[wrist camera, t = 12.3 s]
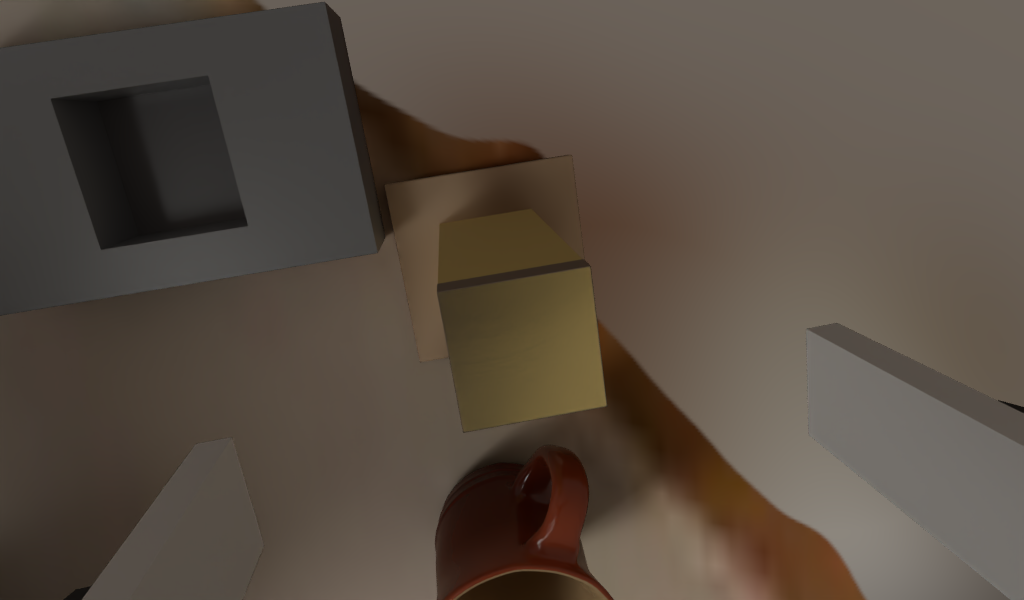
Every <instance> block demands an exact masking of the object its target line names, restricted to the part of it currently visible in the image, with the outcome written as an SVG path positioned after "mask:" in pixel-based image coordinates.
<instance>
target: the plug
mask: <svg viewBox="0 0 1024 600" xmlns="http://www.w3.org/2000/svg"><path fill="white" fill-rule="evenodd" d="M437 296H438V301H439V307H440V312H441V317H442V323H443V328H444V333H445V339H446V344H447V349H448V355H449V360H450V365H451V370H452V376H453V381H454V386H455V392H456V397H457V402H458V408H459V413H460V418H461V424H462V429H463V433H465V432H471V431H476V430H482V429H487V428H492V427H498V426H503V425H509V424H514V423H520V422H525V421H530V420H536V419H541V418H547V417H552V416H558V415H563V414H569V413H574V412H579V411H585V410H590V409H596V408H601V407H607V401H606V392H605V384H604V375H603V367H602V358H601V349H600V341H599V332H598V324H597V315H596V307H595V298H594V290H593V281H592V273H591V266H590V265H589V264H588V263H587V262H586V261H585V260H584V259H582V258H581V257H580V256H579V255H578V254H577V253H576V252H575V251H574V250H573V249H572V248H571V247H570V246H569V245H568V244H567V243H566V242H565V241H564V240H563V239H562V238H560V237H559V236H558V235H557V234H556V233H555V232H554V231H553V230H552V229H551V228H550V227H549V226H548V225H547V224H546V223H545V222H544V221H543V220H542V219H541V218H540V217H539V216H538V215H537V214H536V213H535V212H534V211H533V210H532V209H527V210H521V211H515V212H509V213H502V214H496V215H490V216H484V217H478V218H472V219H466V220H460V221H454V222H448V223H442V224H439V259H438V284H437Z"/></svg>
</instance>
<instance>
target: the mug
mask: <svg viewBox="0 0 1024 600" xmlns="http://www.w3.org/2000/svg"><path fill="white" fill-rule="evenodd" d="M588 501H589V485H588V479H587V476H586V473H585V470H584V467H583V465H582V463H581V461H580V460H579V458H578V457H577V456H576V455H575V454H574V453H573V452H572V451H570V450H569V449H566V448H563V447H559V446H555V445H544V446H542V447H540V448H538V449H537V451H536V452H535V453H534V454H533V455H532V457H531V458H530V460H529V461H528V462H527V463H526V464H525V465H521V464H514V463H496V464H492V465H489V466H486V467H483V468H481V469H478V470H476V471H474V472H473V473H471V474H469V475H468V476H466V477H465V478H463V479H462V480H461V481H460V482H459V483H458V484H457V485H456V486H455V487H454V488H453V490H452V491H451V492H450V494H449V495H448V497H447V499H446V501H445V504H444V506H443V509H442V512H441V514H440V518H439V522H438V526H437V530H436V536H435V549H436V579H437V600H614V599H613V598H612V597H611V595H610V594H609V593H608V592H607V590H606V589H605V588H604V587H603V586H602V585H601V584H600V583H599V582H598V581H597V580H596V579H595V577H594V576H593V575H592V574H591V573H590V571H589V569H588V566H587V562H586V558H585V554H584V550H583V546H582V543H581V539H580V535H581V531H582V528H583V524H584V521H585V517H586V513H587V508H588Z"/></svg>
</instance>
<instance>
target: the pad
mask: <svg viewBox="0 0 1024 600" xmlns="http://www.w3.org/2000/svg"><path fill="white" fill-rule="evenodd" d="M575 184H576V183H575V176H574V167H573V159H572V155H564V156H558V157H552V158H545V159H539V160H533V161H527V162H520V163H514V164H508V165H502V166H495V167H489V168H483V169H477V170H470V171H464V172H458V173H452V174H445V175H439V176H433V177H427V178H420V179H414V180H408V181H402V182H395V183H389V184H385V185H384V186H385V191H386V196H387V201H388V206H389V211H390V216H391V221H392V226H393V230H394V235H395V240H396V245H397V250H398V255H399V260H400V265H401V270H402V275H403V280H404V285H405V290H406V295H407V300H408V305H409V310H410V315H411V319H412V324H413V329H414V334H415V339H416V344H417V349H418V354H419V359H420V362H425V361H430V360H436V359H442V358H447V357H449V355H448V349H447V344H446V339H445V333H444V328H443V323H442V317H441V312H440V307H439V301H438V296H437V284H438V259H439V224H442V223H448V222H454V221H460V220H466V219H472V218H478V217H484V216H490V215H496V214H502V213H509V212H515V211H521V210H527V209H532V210H533V211H534V212H535V213H536V214H537V215H538V216H539V217H540V218H541V219H542V220H543V221H544V222H545V223H546V224H547V225H548V226H549V227H550V228H551V229H552V230H553V231H554V232H555V233H556V234H557V235H558V236H559V237H560V238H562V239H563V240H564V241H565V242H566V243H567V244H568V245H569V246H570V247H571V248H572V249H573V250H574V251H575V252H576V253H577V254H578V255H579V256H580V257H581V258H582V259H584V250H583V243H582V235H581V225H580V217H579V209H578V200H577V193H576V185H575ZM584 260H585V259H584Z"/></svg>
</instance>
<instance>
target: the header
mask: <svg viewBox="0 0 1024 600" xmlns="http://www.w3.org/2000/svg"><path fill="white" fill-rule="evenodd" d="M384 239H385V232H384V227H383V222H382V217H381V212H380V207H379V203H378V198H377V193H376V188H375V183H374V178H373V174H372V169H371V164H370V159H369V154H368V149H367V144H366V140H365V135H364V130H363V125H362V120H361V115H360V111H359V106H358V101H357V96H356V91H355V86H354V81H353V77H352V72H351V67H350V62H349V57H348V53H347V48H346V43H345V38H344V33H343V29H342V24H341V19H340V17H339V16H338V15H337V14H336V13H335V12H334V11H333V10H332V9H331V8H330V7H329V6H328V5H327V4H326V3H325V2H320V3H313V4H307V5H299V6H292V7H285V8H277V9H271V10H263V11H256V12H249V13H242V14H235V15H228V16H221V17H214V18H207V19H200V20H193V21H186V22H179V23H172V24H165V25H158V26H151V27H144V28H137V29H130V30H123V31H116V32H109V33H102V34H95V35H88V36H81V37H74V38H67V39H60V40H53V41H46V42H39V43H32V44H25V45H18V46H11V47H4V48H0V316H1V315H7V314H13V313H19V312H25V311H31V310H37V309H43V308H49V307H55V306H61V305H67V304H73V303H79V302H85V301H91V300H97V299H103V298H109V297H115V296H121V295H127V294H133V293H139V292H145V291H151V290H157V289H164V288H170V287H176V286H182V285H188V284H194V283H200V282H206V281H212V280H218V279H224V278H230V277H236V276H242V275H248V274H254V273H260V272H266V271H272V270H278V269H284V268H290V267H296V266H302V265H308V264H314V263H320V262H326V261H332V260H338V259H344V258H350V257H356V256H362V255H368V254H374V253H378V251H379V249H380V247H381V245H382V243H383V241H384Z"/></svg>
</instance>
